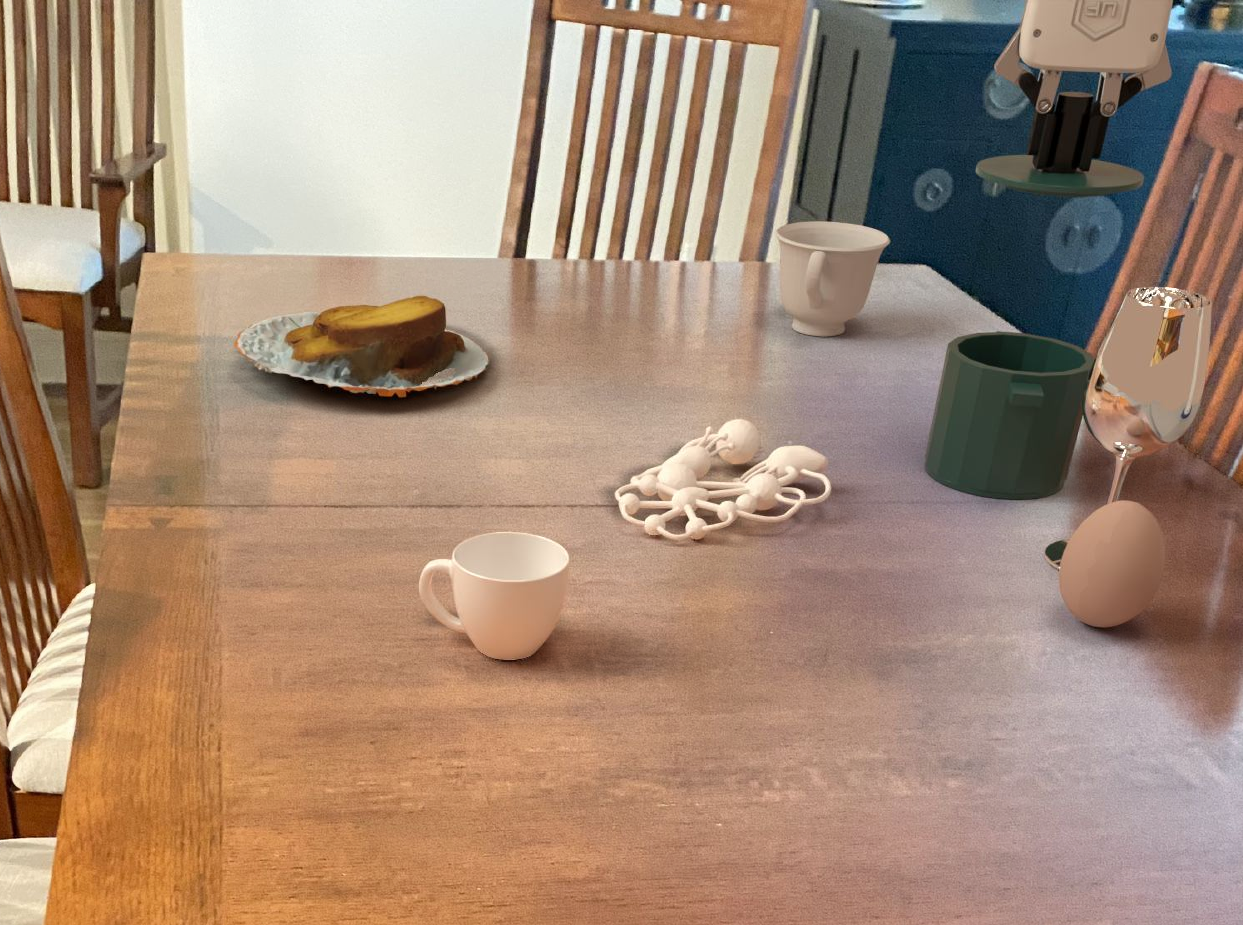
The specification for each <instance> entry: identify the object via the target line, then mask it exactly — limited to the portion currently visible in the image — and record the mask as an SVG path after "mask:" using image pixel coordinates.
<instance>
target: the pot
mask: <svg viewBox="0 0 1243 925" xmlns="http://www.w3.org/2000/svg"><path fill="white" fill-rule="evenodd" d="M1094 360H1095V357H1094V354H1091V353H1090V352H1089V351H1087V350H1085V349H1084V348H1082V347H1080V346H1078V345H1075V344H1072V343H1070V342H1067V341H1063V340H1060V339H1057V338H1052V337H1047V336H1041V335H1035V334H1031V333H1025V332H1015V331H1014V332H1013V331H1001V330H997V331H991V332H989V331H987V332H985V331H984V332H975V333H970V334H965V335H961V336H957V337H955V338H954V339H953V340H951V341H950V342H948V343H947V347H946V352H945V356H944V361H943V367H942V372H941V376H940V381H939V385H938V391H937V396H936V399H935V400H936V401H935V406H934V411H933V417H932V421H931V424H930V425H931V427H930V431H929V435H928V439H927V440H928V441H927V446H926V451H925V454H924V458H925V460H924V470H925V471H926V473H927V474H928V475H929V477H931V478H932V479H933V480H935V481H936V482H938V483H939V484H941V485H944V486H946V487H948V488H951V489H953V490H956V491H959V492H963V493H966V494H970V495H975V496H979V497H985V498H990V499H991V498H992V499H999V500H1031V499H1032V500H1033V499H1040V498H1044V497H1049V496H1052V495H1053V494H1056V493H1057V492H1060V490H1061V489H1062V488H1063V487H1064V484H1065V481H1066V480H1067V478H1068V474H1069V470H1070V467H1071V463H1072V459H1073V455H1074V451H1075V447H1076V443H1077V440H1078V436H1079V432H1080V428H1081V425H1082V420H1083V409H1082V399H1083V393H1084V388H1085V385H1086V382H1087V379H1088V376H1089V373H1090V370H1091V368H1092V365H1093V363H1094Z"/></svg>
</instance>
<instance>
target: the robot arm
mask: <svg viewBox="0 0 1243 925" xmlns="http://www.w3.org/2000/svg"><path fill="white" fill-rule="evenodd" d="M1173 3H1174V0H1025V1H1024V7H1023V11H1022V13H1021V14H1022V15H1021V19H1020V22H1019V27H1018V28H1017V30H1016V32H1015V33H1014V35H1013V36H1012V37H1011V39H1010V40H1009V41H1008V43H1007V45H1006V46H1005V48H1004V49H1003V51H1002V52H1001V54H1000V55H999V57H998V59H997V60H996V61H995V63H994V65H993V66H994V68H993V69H994V70H995V72H996V74H998V75H999V76H1000V77H1002V78H1004V79H1005V80H1007V81H1009V82H1010V83H1011V84H1013V85H1014V86H1016V87H1018V88H1020V89H1021V91H1022V93H1024V95H1025V96H1026V98H1027V99H1028V100H1029V102H1030V103H1031V105H1032V106H1033V107H1034V113H1033V118H1032V124H1031V128H1030V132H1029V133H1030V134H1029V136H1028V143H1027V147H1026V155H1033V161H1032V163H1033V165H1034V167H1035V168H1036V169H1043V168H1046V165H1047V161H1048V156H1049V151H1050V147H1051V142H1052V138H1053V133H1054V129H1055V124H1056V119H1057V116H1056V114H1055V113H1054V112H1055V108H1056V103H1054V102H1055V98H1056V96H1057V95H1056V94H1057V92H1058V89H1059V88H1058V87H1059V84H1060V79H1061V78H1062V77H1061V76H1062V74H1063V72H1083V73H1084V72H1085V73H1100V74H1099V80H1098V84H1097V85H1098V86H1097V92H1096V97H1095V101H1093V103H1092V107H1091V112H1090V116H1089V120H1088V125H1087V129H1086V133H1085V138H1084V142H1083V146H1082V151H1081V155H1080V159H1079V164H1078V168H1079V169H1080V170H1081V171H1086V172H1089V169H1090V166H1091V161H1092V159H1093V160H1099V159H1100V157H1101V154H1102V151H1103V147H1104V143H1105V138H1106V135H1107V130H1108V125H1109V122H1110V117H1112V116H1114V115H1115V114H1116V112H1117V111H1118V110H1119V109H1121V107H1122V106H1123V105H1125V104H1126V103H1127V102H1129V101H1130V100H1131V99H1132V98H1134V97H1135V96H1136V95H1138V94H1139V93H1140V92H1143V91H1145V90H1149V89H1150V88H1153V87H1155V86H1157V85H1160V84H1163V83H1165V82H1167V81H1169V80H1170V79H1171V77H1172V74H1173V72H1172V67H1171V62H1170V58H1169V53H1168V48H1167V44H1166V38H1167V34H1168V29H1169V23H1170V18H1171V12H1172V8H1173ZM1020 60H1021V61H1022V62H1023V63H1024V64H1025V65H1027V66H1029V67H1031V68H1033V69H1038V70H1040V71H1039V74H1038V78H1037V77H1036V76H1035V74H1034V73H1033V72H1032V71H1030V70H1029V69H1027V68H1025V67H1024V66H1023V65H1020ZM1124 74H1129V75H1126V76H1125V77H1124ZM1123 77H1124V78H1123Z"/></svg>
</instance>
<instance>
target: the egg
mask: <svg viewBox="0 0 1243 925" xmlns="http://www.w3.org/2000/svg"><path fill="white" fill-rule="evenodd" d="M1106 504H1107V503H1106ZM1106 504H1104V505H1102V506H1101V507H1098V508H1097V509H1096V510H1094V511H1093V512H1092V513H1091V514H1090V515H1089V516H1087V517H1086V518H1085V519H1084V520H1083V521H1082V523H1080V525H1079V526H1078V527H1077V528H1076V530H1075V531H1074V532H1073V534H1072V535H1071V536H1070V538H1069V539H1070V540H1069V542H1068V544H1067V546H1066V548H1065V550H1064V553H1063V556H1062V559H1061V562H1060V569H1059V571H1058V586H1059V591H1060V595H1061V597H1062V600H1063V602H1064V604H1065V606H1066V607H1067V609H1068V610H1069V611H1070V613H1071V614H1072V615H1073V616H1074V617H1075V618H1077V620H1079V621H1080V622H1081V623H1083V624H1086V625H1089V626H1090V627H1094V628H1102V629H1103V628H1104V629H1105V628H1111V627H1117V626H1120V625H1122V624H1124V623H1127V622H1128V621H1130V620H1132V619H1133V618H1135V617H1136V616H1137V615H1139V614H1140V613H1141V612H1143V611H1144V610H1145V609H1146V608H1147V607H1148V605H1150V603H1151V602H1152V601H1153V599H1154V598H1155V596H1156V594H1157V592H1158V590H1159V588H1160V585H1161V583H1162V582H1163V576H1164V572H1165V566H1166V559H1167V556H1166V546H1165V539H1164V534H1163V532H1162V529H1161V526H1160V523H1159V521H1158V520H1157V518H1156V516H1154V514H1153V513H1152V512H1151V511H1150V510H1149V509H1148V508H1147V507H1145V506H1144V505H1142V504H1141V503H1139V502H1137V501H1132V500H1118V501H1116V502H1112V503H1110V504H1107V505H1106Z"/></svg>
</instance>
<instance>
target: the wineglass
mask: <svg viewBox="0 0 1243 925" xmlns="http://www.w3.org/2000/svg"><path fill="white" fill-rule="evenodd" d="M1212 310H1213V301H1212V300H1211V299H1210V298H1209V297H1208V296H1205V295H1202V294H1201V293H1197V292H1194V291H1190V290H1186V289H1180V288H1174V287H1164V286H1142V287H1134V288H1131V289H1130V290H1128V291H1127V292H1126V295H1125V296H1124V298H1123V300H1122V302H1121V304H1120V306H1119V308H1118V310H1117V312H1116V314H1115V316H1114V318H1113V319H1112V321H1111V324H1110V326H1109V328H1108V330H1107V333H1106V334H1105V336H1104V338H1103V341H1102V343H1101V345H1100V347H1099V349H1098V351H1097V353H1096V356H1095V357H1094V359H1095V360H1094V363H1093V365H1092V368H1091V370H1090V373H1089V376H1088V379H1087V382H1086V385H1085V388H1084V393H1083V399H1082V409H1083V417H1082V419H1083V421H1084V423H1085V425H1086V428H1087V430H1088V432H1089V433H1090V434H1091V436H1092V437H1093V438H1094V439H1095V440H1096V442H1097V443H1098V444H1099V445H1100V446H1101V447H1102V448H1104V449H1105V450H1106V451H1107V452H1109V453H1111V454H1112V455H1114V472H1113V477H1112V482H1111V486H1110V490H1109V493H1108V496H1107V501H1106V504H1105V505H1107V504H1110V503H1112V502H1116V501H1119V498H1120V493H1121V491H1122V487H1123V485H1124V482H1125V479H1126V476H1127V474H1128V471H1129V469H1130V467H1131V465H1132V463H1133V462H1134V460H1136V458H1143V457H1146V456H1149V455H1153V454H1156V453H1158V452H1160V451H1162V450H1164V449H1166V448H1167V447H1170V446H1172V445H1173V444H1174V443H1175V442H1176V441H1178V440H1179V439H1180V438H1181V437H1182V436H1184V435H1185V434H1186V433H1187V431H1188V430H1189V429H1190V427H1191V426H1192V424H1193V423H1194V421H1195V420H1196V417H1197V414H1198V412H1199V409H1200V406H1201V403H1202V398H1203V395H1204V389H1205V385H1206V379H1207V374H1208V364H1209V363H1208V362H1209V353H1210V342H1211V330H1212V329H1211V328H1212V326H1211V325H1212ZM1069 540H1070V538H1067V539H1065V538H1064V539H1060V540H1057V541H1054V542H1052V543H1050V544H1047V546H1046V547H1045V548H1044V551H1043V556H1044V559H1045V560H1046V562H1048V563H1049V564H1050V565H1051V566H1052V567H1053V568H1054V569H1057V570H1059V569H1060V562H1061V559H1062V556H1063V553H1064V550H1065V548H1066V546H1067V544H1068V542H1069Z"/></svg>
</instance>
